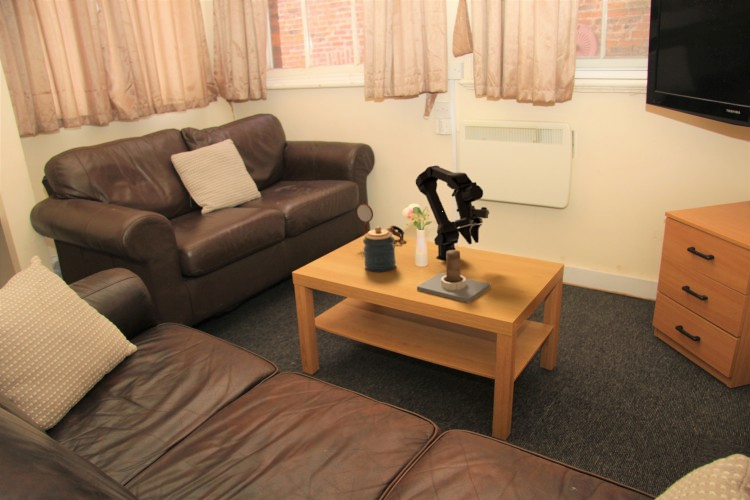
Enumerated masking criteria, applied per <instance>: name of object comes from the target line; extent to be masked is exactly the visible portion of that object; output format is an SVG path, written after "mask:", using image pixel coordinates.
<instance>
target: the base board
mask: <svg viewBox="0 0 750 500" xmlns="http://www.w3.org/2000/svg"><path fill="white" fill-rule="evenodd" d="M489 289H491V283H488V282H485V281H480V280H475V279H470V278H466V277H465V276H464V275H461V274H460V282H456V283H450V282H447V273H443V272H439V273H437V274H435V275H434V276H432V277H431V278H429V279H426V281H424V282H422V283H420V284H418V285H417V286H416V291H418V292H419V291H420V292H423V293H427V294H432V295H435V296H438V297H443V298H448V299H451V300H456V301H460V302H463V303H466V304H469V303H470V302H472V301H473V300H475V299H476V298H478V297H479V296H480V295H482V294H483V293H485V292H486V291H487V290H489Z"/></svg>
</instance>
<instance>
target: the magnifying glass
mask: <svg viewBox="0 0 750 500" xmlns="http://www.w3.org/2000/svg"><path fill="white" fill-rule="evenodd" d="M356 215H357V218H358V219H359V220H360V221H361V222H362V223H363V224H364V225H363V226H364V235H365V234H366V233H368V223H369V222H371V221H372V219H373V218H374V211H373V209H372V208H371V206H370V205H368V204H366V203H361V204H359V205H358V206H357V208H356ZM365 238H366V237H365V236H364V239H365Z"/></svg>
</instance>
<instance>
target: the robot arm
mask: <svg viewBox="0 0 750 500" xmlns="http://www.w3.org/2000/svg"><path fill="white" fill-rule="evenodd" d="M439 180H440V181H442V182H444V183H446V186H447V187H448V188H450V189H452V190H453V192H452V193H451V197H454V199H455V203H456V212H458V215H459V219H456V220H454V221H451V220H449V218H448V215H447V213H446V211H445V208H444V205H443V203H442V201H441V199H440V196H439V193H438V192H437V188H438V181H439ZM415 186H416V187H417V189H418V190H419V192H420V193H421V194H422V195H423V196H425V197H426V199H427V203H428V204H429V207H430V210H431V212H432V214H433V217H434V219H435V221H436V225H437V230H436V234H437V235H436V236H435V238H434V239H433V241H434V244H435V246H437V250H438V251H437V252H438V253H437V256H436V257H435V258H436V259H439V260H444V261H446V252H447V251H449V250H456V247H455V244H458V242H459V239H460V235H461V236H462V238H464V240H465V241H466V242H467V244H468V245H472V244H473V241H474V242H475V243H476V244H477V243H479V239H480V238H479V237H480V236H479V231H480V228H481V227H482V225H483V222H484V221H483V219H488V218H489V214H490V211H489V209H488V207H486V206H485V207H484V206H482V207H481V208H476V206H475V205H473V204H472V203H473V202H475V201H478V200H480V199H482V198H483V195H484V189H482V186H480V185H478V184H477V182H473V181H472V180H471V178H470V177H469V176H468V174H467V173H466V172H452V171H450V170H448V169H446V168H443V167H440V166H439V165H431V166H428V167H426V168H425V170H424V171H422V172H420V174H418V176H417V177H416V179H415ZM442 211H443V212H442ZM472 240H473V241H472Z"/></svg>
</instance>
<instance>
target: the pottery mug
mask: <svg viewBox="0 0 750 500" xmlns="http://www.w3.org/2000/svg"><path fill="white" fill-rule="evenodd" d="M386 230H388V231H389V232H391V233H392V236H393V235H394V236H395V237H397V238H399V240H398V243H400V242H401V243H402V241H403V240H404V235H405V231H404V230H403V229H402V228H400V226H399V227H398V226H397V225H391V226H390V227H388V228H386Z"/></svg>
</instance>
